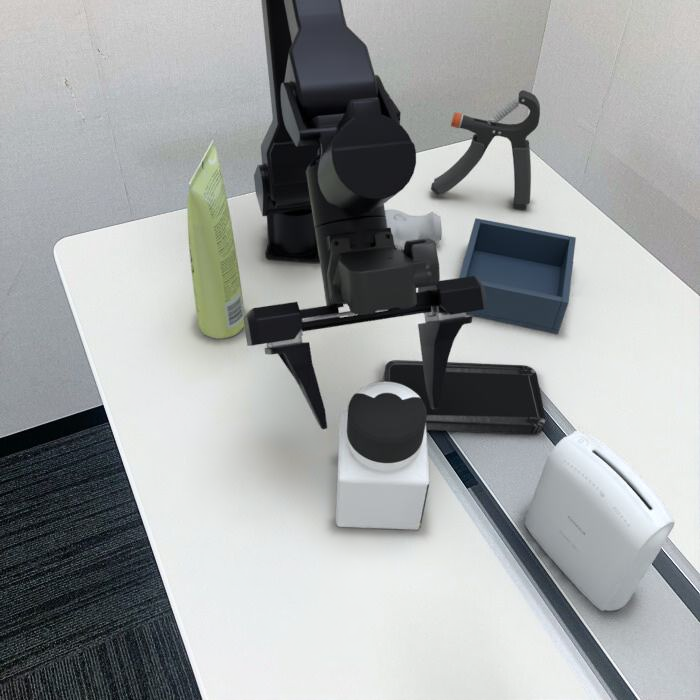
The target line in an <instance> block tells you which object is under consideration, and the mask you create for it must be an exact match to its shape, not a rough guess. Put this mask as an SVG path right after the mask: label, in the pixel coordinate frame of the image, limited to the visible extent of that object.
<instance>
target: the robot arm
mask: <svg viewBox="0 0 700 700" xmlns="http://www.w3.org/2000/svg"><path fill="white" fill-rule="evenodd" d="M260 1H261V12H262V22H263V33H264V43H265V52H266V63H267V71H268V72H267V74H268V82H269V83H268V84H269V85H268V86H269V93H270V103H271V104H270V105H271V115H272V120H271V123H270V125H269V127H268V129H267V131H266V134H265V135H264V138H263V140H262V142H261V144H260V156H261V164H257V166H256V169H255V172H254V173H253V179H254V180H253V182H254V190H255V196H256V200H257V202H258V203H257V204H258V206H259V209H260V213H261V216H262V217H266V228H267V229H266V231H267V232H266V233H267V245H266V249H265V253H264V254H265V255H264V256H265V259H267V260H277V261H290V262H301V263H315V264H319V265H320V272H321V277H322V285H323V292H324V299H325V304H326V305H323V306H317V307H308V308H301V309H300V307H299V302H298V301H292V302H286V303H278V304H272V305H265V306H258V307H252V309H250V310H249V311H248V312H247V313H246V314H245V317H244V327H243V328H244V332H245V333H244V334H245V339H246V346H251V347H252V346H258V345H264V344H266V347H264V354H265V355H270V356H272V355H278V357H279V358H280V359H281V361H282V362H283V364H284V365H285V367H286V368H287V370H288V371H289V373H290V374H291V375H292V377H293V378H294V380H295V382H296V383H297V385H298V387H299V389H300V391H301V393H302V395H303V397H304V398H305V401H306V402H307V405H308V406H309V408H310V410H311V412H312V415H313V416H314V419H315V420H316V422H317V424H318V426H319V428H320V429H321V430H327V429H328V421H327V414H326V408H325V404H324V400H323V397H322V393H321V390H320V387H319V382H318V379H317V375H316V370H315V368H314V363H313V358H312V352H311V344H310V342H309V341H306V342H304V341H303V338H302V337H303V336H304V334H303V332H310V331H316V330H322V329H328V328H329V329H330V328H335V327H341V326H347V325H354V324H360V323H361V324H362V323H366V322H368V323H369V322H374V321H380V320H387V319H392V318H400V317H406V316H407V317H408V316H413V315H420V314H423V316H424V321H425V322H422V323H417V327H418V328H417V329H418V335H419V336H418V337H419V345H420V352H421V361H423V369H424V377H425V385H426V392H427V396H428V400H429V404H430V407H431V409H438V408H439V405H440V399H441V394H442V389H443V383H444V378H445V372H446V367H447V362H449V357H450V354H451V350H452V347H453V344H454V341H455V340H456V338H457V335H458V334H459V332H460V331H461V329H462V327H463V326H464V325H468V324H472V323H473V319H474V316H467V315H466V312H471V311H478V310H484V309H488V307H487V300H486V293H485V288H484V286H483V285H482V283H481V282H480V281H479V280H478V279H477V278H476V277H475V276H470V277H463V278H459V277H457V278H451V279H443V280H440V279H441V276H440V273H441V272H440V262H439V261H440V260H439V257H438V256H439V255H438V251H437V246H436V243H435V241H433V240H431V239H430V238H426V239H418V240H411V241H406V242H405V247H404V249H398V248H397V247H395V245H394V240H393V235H392V233H391V228H388V227H387V220H386V214H385V210H386V208H385V204H386V203H387V202H388V201H389V200H391V199H392V198H393V197H395V196H397V194H399V193H400V192H401V191H402V190H404V189H405V187H406V186H407V185H408V184H409V183H410V181H411V179H412V177H413V175H414V173H415V169H416V164H417V151H416V146H415V143H414V142H413V140H412V139H411V136H410V135H409V133H408V132H407V130H405V128H404V127H403V125H402V124H401V113H402V112H401V111H400V109H399V108H398V106H397V105H396V103H395V102H394V100H393V99H392V97H391V95H390V94H389V93H388V92H387V91H388V90H386V88H385V85H384V83H383V82H382V79H381V78H380V76H379V75H378V74H375V70H374V67H373V63H372V59H371V57H370V52H369V49H368V46H367V44H366V43H365V42H364V41H363V40H362V39H361V38H360V37H359V36H358V35H357V34H356V33H355V32H354V31H353V30H352V29H351V28H350V27H349V26H348V25H347V21H346V17H345V13H344V7H343V4H342V0H260ZM344 305H347V306H348V308H349V311H347V310H346V311H342V312H340V310H339V309H341V308H344Z"/></svg>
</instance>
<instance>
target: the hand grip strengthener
mask: <svg viewBox="0 0 700 700" xmlns="http://www.w3.org/2000/svg"><path fill="white" fill-rule="evenodd" d="M519 105H523V106H525V107H526V108H527V109H528V110H529V114H528V115H527V117H526V118H525V119H524V120H523V121H521V122H517V123H501V122H500V121H501V120H503V119H504V118H505V117H506V116H508V115H509V114H511V112H513V111H514V110H516V108H518V107H519ZM540 116H541V105H540V101H539V99H538V97H537V96H536V95H535V94H533V93H532V92H531V91H527V90H520V91H519V92H518V99H517V98H516V97H513V98H512V99H511V100H510V101H508V102H507V103H506V104H505V105H503V106H502V107H500V108H499V109H498V110H497V111H496V112H495V113H493V115H492V117H493V118H489V119H488V120H486V119H481V118H476V117H473V116H472V117H471V116H469V115H465V114H462V113H460V112H456V111H454V112H453V115H452V119H451V122H450V127H452V128H455V129H461V130H462V129H463V130H467V131H468V132H471V133H473V135H472V138H471V142H470V144H469V147H468V148H467V150H466V151H465V153H464V154H462V156H461V157H460V158H459V159H458V160H457V161H456V162H455V163H454V164H453V165H452V166H451V167H450V168H449V169H448V170H446V171H445V172H443V173H442V174H441V175H439V176H437V177H435V178H434V180H433V182H431V186H430V190H431V191H432V192H433V193H434V194H435V195H436V196H437V197H439V196H441V195H444V194H445V193H447V192H449V191H450V190H452V189H454V187H456V186H457V185H458V184H460V183H461V182H462V181H463V180H464V179H465V178H466V177H467V176H469V174H470V173H471V172H472V170H473V169H474V168H475V167H476V166H477V165H478V164H479V162H480V161H481V159H482V158H483V156H484V155H485V152H486V151H487V148H488V147H489V146H490V144H491V142H492V141H493V140H494V138H495V137H502V138H506V139H507V140H509V142H510V146H511V152H512V161H513V163H512V164H513V178H514V179H513V181H514V182H513V183H514V185H513V186H514V188H513V189H514V194H513V204H512V205H513V206H512V208H513V209H519V210H526V209H527V206H528V205H529V204H530V203H531V194H532V193H531V191H532V190H531V189H532V164H531V148H530V141H529V139H527V137H528V136H529V135H531V134H532V133H533V132H534V131H535V130H536V129H537V128H538V126H539V124H540Z"/></svg>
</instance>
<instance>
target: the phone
mask: <svg viewBox="0 0 700 700" xmlns="http://www.w3.org/2000/svg"><path fill="white" fill-rule="evenodd" d="M383 382H394V383H398V384H401V385H404V386H406V387H408V388H410V389H411V390H413V391H414V392H415V393H416V394H418V395H419V397H420V398H421V399H422V401H423V402H424V404H425V407H426V411H427V419H426V431H445V432H466V433H467V432H469V433H470V432H471V433H494V434H495V433H496V434H517V435H518V434H519V435H537V434H539V433H541V432H542V430H543V428H544V426H545V423H546V414H545V408H544V404H543V399H542V393H541V388H540V384H539V383H540V382H539V379H538V374H537V372H536V370H535V369H534V368H533V367H531V366H530V365H526V364H525V365H524V364H503V363H481V362H480V363H479V362H478V363H477V362H455V361H454V362H453V361H448V362H447V367H446V372H445V378H444V383H443V389H442V394H441V399H440V405H439V408H438V409H431V407H430V404H429V400H428V396H427V392H426V385H425V377H424V369H423V361H422V360H409V359H408V360H405V359H392V360H390V361H388V362H387V363H386V364H385V366H384V373H383Z"/></svg>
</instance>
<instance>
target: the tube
mask: <svg viewBox="0 0 700 700" xmlns="http://www.w3.org/2000/svg"><path fill="white" fill-rule="evenodd" d="M221 168H222V167H221V164H220V159H219V155H218V151H217V147H216V146H215V141H214V139H212V140H211V142H210V143H209V146H208V148H207V150H206V151H205V153H204V154H203V157H202V159H201V161H200V163H199V164H198V166H197V168H196V170H195V171H194V173H193V175H192V177H191V178H190V180H189V183H188V191H187V197H186V198H187V200H186V202H187V203H186V206H187V207H186V211H187V235H188V236H187V237H188V248H189V259H190V268H191V270H190V271H191V278H192V279H191V280H192V287H193V288H192V289H193V296H194V303H195V310H196V318H197V324H198V328H199V330H200V331H201V333H202V334H204V335H205V336H207V337H210V338H213V339H227V338H231V337H234V336H235V335H237V334H239V333H240V332H241V331H242V330H243V328H245V327H244V317H245V316H246V314H245V313H246V312H245V303H244V297H243V289H242V282H241V281H242V280H241V275H240V268H239V267H240V266H239V260H238V254H237V248H236V241H235V236H234V230H233V225H232V219H231V213H230V208H229V202H228V198H227V193H226V187H225V182H224V177H223V172H222V169H221Z"/></svg>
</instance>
